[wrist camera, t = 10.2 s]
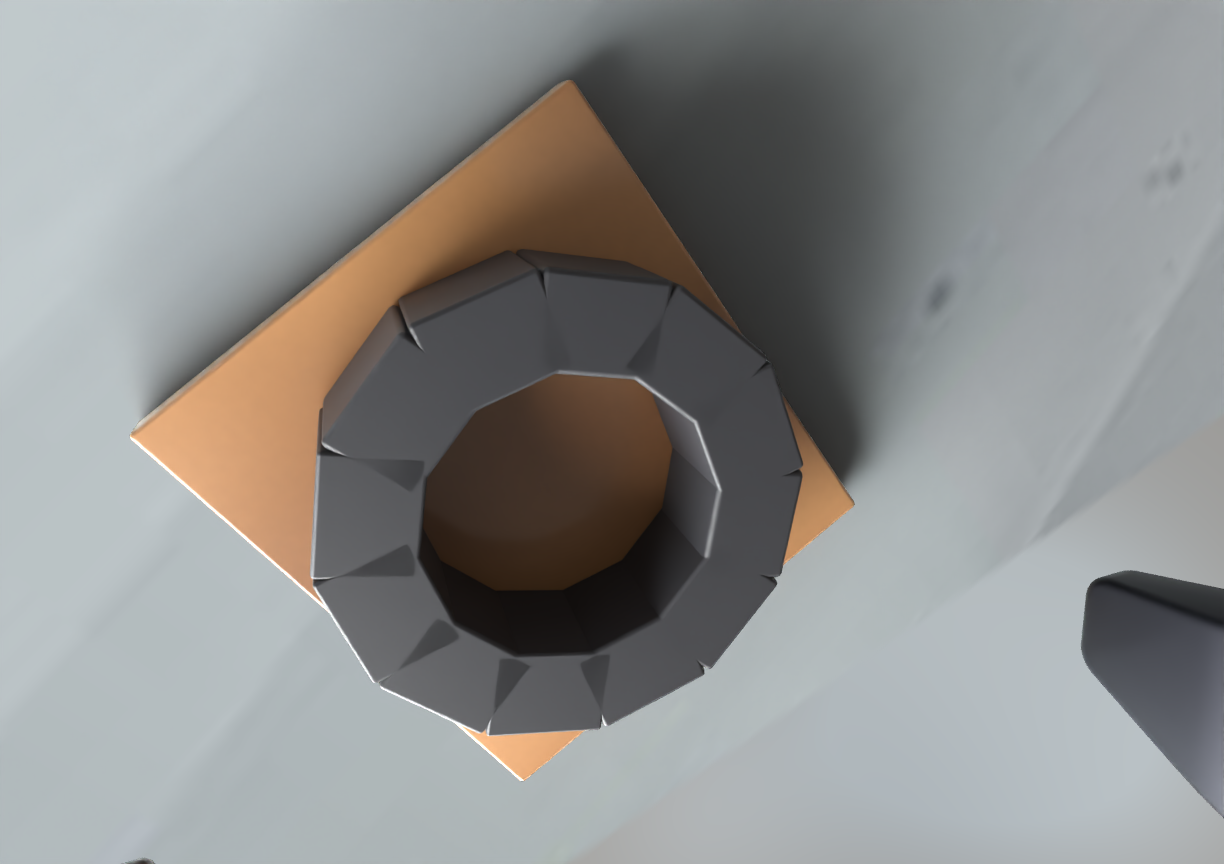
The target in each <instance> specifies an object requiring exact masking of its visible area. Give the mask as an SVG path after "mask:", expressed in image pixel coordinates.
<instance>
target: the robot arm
mask: <svg viewBox="0 0 1224 864" xmlns="http://www.w3.org/2000/svg"><path fill="white" fill-rule="evenodd" d="M1081 650H1082V655H1083V658H1084V660H1085V663H1086V664H1087V666H1088V668H1089V669H1090V671H1091V672H1092V673H1093V674H1094V676H1095V677H1096V678H1097V679H1098V680H1099V681H1100V683H1101V684H1102V685H1103V686H1104V687H1105V688H1106V689H1107V690H1108V692H1109V693H1110V694H1111V695H1112V696H1113V697H1114V698H1115V700H1116V701H1117V702H1118V703H1119V704H1120V705H1121V706H1122V707H1123V709H1124V710H1125V711H1126V712H1127V713H1128V714H1129V716H1130V717H1131V718H1132V719H1133V720H1134V721H1135V722H1136V723H1137V725H1138V726H1139V727H1140V728H1141V729H1142V730H1143V731H1144V733H1145V734H1146V735H1147V736H1148V737H1149V738H1150V739H1151V741H1152V742H1153V743H1154V744H1155V745H1156V746H1157V747H1158V748H1159V750H1160V751H1161V752H1162V753H1163V754H1164V755H1165V756H1166V758H1167V759H1168V760H1169V761H1170V762H1171V763H1172V764H1173V766H1174V767H1175V768H1176V769H1177V770H1178V771H1179V772H1180V773H1181V774H1182V776H1183V777H1184V778H1185V779H1186V780H1187V781H1188V782H1189V783H1190V784H1191V785H1192V786H1193V788H1194V789H1195V790H1196V791H1197V792H1198V793H1199V794H1200V795H1201V796H1202V797H1203V798H1204V799H1205V800H1206V801H1207V802H1208V803H1209V804H1210V805H1211V806H1212V807H1213V808H1214V809H1215V810H1216V811H1217V812H1218V813H1219V814H1220V815H1221V816H1222V817H1223V818H1224V589H1221V588H1216V587H1211V586H1206V585H1202V584H1197V583H1192V582H1187V581H1182V580H1177V579H1173V578H1167V577H1163V576H1158V575H1153V574H1148V573H1143V572H1138V571H1131V570H1130V571H1122V572H1118V573H1114V574H1111V575H1108V576H1104V577H1101V578H1098V579H1096V580H1094V581H1093V582H1092V583H1091V584H1090V586H1089V588H1088V590H1087V593H1086V602H1085V612H1084V621H1083V630H1082V640H1081ZM122 864H155V863H154V862H153V861H152V860H150V859H147V858H140V859H136V860H133V861H129V862H126V863H122Z"/></svg>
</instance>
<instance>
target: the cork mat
mask: <svg viewBox="0 0 1224 864" xmlns="http://www.w3.org/2000/svg"><path fill="white" fill-rule="evenodd" d="M520 249H528V250H536V251H545V252H553V253H561V254H570V255H578V256H586V257H594V258H603V259H611V260H619V261H626V262H629V263H631V264H633V265H635V266H638V267H641V268H643V269H646V270H648V271H650V272H652V273H655V274H657V275H659V276H661V277H664V278H666V279H668V280H671V281H673V282H675V283H677V284H680V285H682V286H684V287H685V288H686V289H687V290H688V291H690V292H691V293H692V294H693V295H695V296H696V297H697V298H698V299H699V300H701V301H702V302H703V303H704V304H705V305H707V306H708V307H709V308H710V309H711V310H713V311H714V312H715V313H716V314H718V315H719V316H720V317H721V318H722V319H724V320H725V321H726V322H727V323H728V324H730V325H731V326H732V327H733V328H735V329H736V330H737V331H738V332H739V333H741V331H740V330H739V328H738V327H737V325H736V324H735V322H734V321H733V319H732V318H731V316H730V315H729V313H728V312H727V310H726V309H725V307H724V306H723V304H722V303H721V301H720V300H719V298H718V297H717V295H716V294H715V292H714V291H713V289H712V288H711V286H710V285H709V283H708V282H707V280H706V279H705V277H704V276H703V274H702V273H701V271H700V270H699V268H698V267H697V265H696V264H695V262H694V261H693V259H692V258H691V256H690V255H689V253H688V252H687V250H686V249H685V247H684V246H683V244H682V243H681V241H680V240H679V238H678V237H677V235H676V234H675V232H674V231H673V229H672V228H671V226H670V225H669V223H668V222H667V220H666V219H665V217H664V216H663V214H662V213H661V211H660V210H659V208H658V207H657V205H656V204H655V202H654V201H653V199H652V198H651V196H650V195H649V193H648V192H647V190H646V189H645V187H644V186H643V184H642V183H641V181H640V180H639V178H638V177H637V175H636V174H635V172H634V171H633V169H632V168H631V166H630V165H629V163H628V162H627V160H626V159H625V157H624V156H623V154H622V153H621V151H620V150H619V148H618V147H617V145H616V144H615V142H614V141H613V139H612V138H611V136H610V135H609V133H608V132H607V130H606V129H605V127H604V126H603V124H602V123H601V121H600V120H599V118H598V117H597V115H596V114H595V112H594V111H593V109H592V108H591V106H590V105H589V103H588V102H587V100H586V99H585V97H584V96H583V94H582V93H581V91H580V90H579V88H578V87H577V85H576V84H575V82H574V81H572V80H567V81H563V82H560V83H558V84H557V85H556V86H555V87H553V88H552V89H551V90H550V91H548V92H547V93H546V94H545V95H544V96H542V97H541V98H540V99H539V100H537V101H536V102H535V103H534V104H532V105H531V106H530V107H529V108H527V109H526V110H525V111H524V112H522V113H521V114H520V115H519V116H517V117H516V118H515V119H514V120H513V121H511V122H510V123H509V124H508V125H506V126H505V127H504V128H503V129H501V130H500V131H499V132H498V133H496V134H495V135H494V136H493V137H491V138H490V139H489V140H488V141H487V142H485V143H484V144H483V145H482V146H480V147H479V148H478V149H477V150H475V151H474V152H473V153H472V154H470V155H469V156H468V157H467V158H465V159H464V160H463V161H462V162H460V163H459V164H458V165H457V166H456V167H454V168H453V169H452V170H451V171H449V172H448V173H447V174H446V175H444V176H443V177H442V178H441V179H439V180H438V181H437V182H436V183H434V184H433V185H432V186H431V187H430V188H428V189H427V190H426V191H425V192H423V193H422V194H421V195H420V196H418V197H417V198H416V199H415V200H413V201H412V202H411V203H410V204H408V205H407V206H406V207H405V208H403V209H402V210H401V211H400V212H399V213H397V214H396V215H395V216H394V217H392V218H391V219H390V220H389V221H387V222H386V223H385V224H384V225H382V226H381V227H380V228H379V229H377V230H376V231H375V232H374V233H372V234H371V235H370V236H369V237H368V238H366V239H365V240H364V241H363V242H361V243H360V244H359V245H358V246H356V247H355V248H354V249H353V250H351V251H350V252H349V253H348V254H346V255H345V256H344V257H343V258H342V259H340V260H339V261H338V262H337V263H335V264H334V265H333V266H332V267H330V268H329V269H328V270H327V271H325V272H324V273H323V274H322V275H320V276H319V277H318V278H317V279H315V280H314V281H313V282H312V283H311V284H309V285H308V286H307V287H306V288H304V289H303V290H302V291H301V292H299V293H298V294H297V295H296V296H294V297H293V298H292V299H291V300H289V301H288V302H287V303H286V304H285V305H283V306H282V307H281V308H280V309H278V310H277V311H276V312H275V313H273V314H272V315H271V316H270V317H268V318H267V319H266V320H265V321H263V322H262V323H261V324H260V325H258V326H257V327H256V328H255V329H254V330H252V331H251V332H250V333H249V334H247V335H246V336H245V337H244V338H242V339H241V340H240V341H239V342H237V343H236V344H235V345H234V346H232V347H231V348H230V349H229V350H228V351H226V352H225V353H224V354H223V355H221V356H220V357H219V358H218V359H216V360H215V361H214V362H213V363H211V364H210V365H209V366H208V367H206V368H205V369H204V370H203V371H201V372H200V373H199V374H198V375H197V376H195V377H194V378H193V379H192V380H190V381H189V382H188V383H187V384H185V385H184V386H183V387H182V388H180V389H179V390H178V391H177V392H175V393H174V394H173V395H172V396H171V397H169V398H168V399H167V400H166V401H164V402H163V403H162V404H161V405H159V406H158V407H157V408H156V409H154V410H153V411H152V412H151V413H149V414H148V415H147V416H146V417H144V418H143V419H142V420H141V421H140V422H138V424H137V425H136V426H135V428H134V429H133V431H132V432H131V434H130V438H131V439H132V440H133V441H134V442H135V443H136V444H137V445H138V446H139V447H141V448H142V449H143V450H144V451H145V452H146V453H147V454H149V455H150V456H151V457H152V458H153V459H154V460H155V461H157V462H158V463H159V464H160V465H161V466H162V467H163V468H165V469H166V470H167V471H168V472H169V473H170V474H171V475H173V476H174V477H175V478H176V479H177V480H178V481H179V482H181V483H182V484H183V485H184V486H185V487H186V488H187V489H189V490H190V491H191V492H192V493H193V494H194V495H195V496H197V497H198V498H199V499H200V500H201V501H202V502H203V503H205V504H206V505H207V506H208V507H209V508H210V509H211V510H212V511H214V512H215V513H216V514H217V515H218V516H219V517H220V518H222V519H223V520H224V521H225V522H226V523H227V524H228V525H230V526H231V527H232V528H233V529H234V530H235V531H236V532H238V533H239V534H240V535H241V536H242V537H243V538H244V539H246V540H247V541H248V542H249V543H250V544H251V545H252V546H254V547H255V548H256V549H257V550H258V551H259V552H260V553H262V554H263V555H264V556H265V557H266V558H267V559H268V560H270V561H271V562H272V563H273V564H274V565H275V566H276V567H278V568H279V569H280V570H281V571H282V572H283V573H284V574H285V575H287V576H288V577H289V578H290V579H291V580H292V581H293V582H295V583H296V584H297V585H298V586H299V587H300V588H301V589H303V590H304V591H305V592H306V593H307V594H308V595H309V596H311V597H312V598H313V599H314V600H315V601H316V602H317V603H319V604H320V605H321V606H322V607H323V608H324V609H325V610H327V609H326V608H325V606H324V604H323V603H322V601H321V600H320V598H319V596H318V595H317V593H316V592H315V590H314V588H313V579H312V578H311V576H310V562H311V543H312V524H313V505H314V486H315V467H316V449H317V433H318V417H319V410H320V409H321V408H323V402H324V398H325V396H326V395H327V394H328V392H329V391H330V389H331V388H332V387H333V385H334V384H335V382H336V381H337V380H338V378H339V377H340V375H341V374H342V373H343V371H344V370H345V368H346V367H347V366H348V364H349V363H350V361H351V360H352V359H353V357H354V356H355V354H356V353H357V352H358V350H359V349H360V347H361V346H362V345H363V343H364V342H365V340H366V339H367V338H368V336H369V335H370V333H371V332H372V331H373V329H374V328H375V326H376V325H377V324H378V322H379V321H380V319H381V318H382V317H383V315H384V314H385V312H386V311H387V310H388V308H389V307H391V306H392V305H395V306H398V307H400V306H399V301H398V300H399V299H400V298H401V297H402V296H404V295H407V294H409V293H411V292H413V291H416V290H418V289H420V288H423V287H425V286H427V285H429V284H432V283H434V282H436V281H438V280H441V279H443V278H445V277H447V276H450V275H452V274H454V273H456V272H459V271H461V270H463V269H465V268H468V267H470V266H472V265H475V264H477V263H479V262H481V261H484V260H486V259H488V258H490V257H493V256H495V255H497V254H499V253H502V252H504V251H506V250H510V251H512V252H513V253H515V254H516V252H517V250H520ZM741 334H742V333H741ZM742 335H743V334H742ZM782 396H783V394H782ZM783 399H784V402H785V405H786V409H787V412H788V415H789V418H790V422H791V425H792V428H793V431H794V435H795V438H796V441H797V444H798V447H799V451H800V454H801V457H802V460H803V466H802V468H800V469H799V470H800V471H801V472H802V476H803V478H802V482H801V487H800V492H799V496H798V501H797V505H796V510H795V514H794V519H793V523H792V528H791V532H790V537H789V541H788V546H787V550H786V555H785V559H784V564H785V563H786V562H787V561H788V560H790V559H791V558H792V557H793V556H794V555H796V554H797V553H798V552H799V551H800V550H802V549H803V548H804V547H805V546H806V545H808V544H809V543H810V542H811V541H812V540H814V539H815V538H816V537H817V536H818V535H820V534H821V533H822V532H823V531H824V530H826V529H827V528H828V527H829V526H830V525H832V524H833V523H834V522H835V521H836V520H838V519H839V518H840V517H841V516H842V515H844V514H845V513H846V512H847V511H848V510H850V509H851V508H852V507H853V506H854V505H855V504H854V501H853V499H852V498H851V496H850V495H849V493H848V492H847V490H846V489H845V487H844V486H843V484H842V483H841V481H840V480H839V478H838V477H837V475H836V474H835V472H834V471H833V469H832V468H831V466H830V465H829V463H828V462H827V460H826V459H825V457H824V456H823V454H822V453H821V451H820V450H819V448H818V447H817V445H816V444H815V442H814V441H813V439H812V438H811V436H810V435H809V433H808V432H807V430H806V429H805V427H804V426H803V424H802V423H801V421H800V420H799V418H798V417H797V415H796V414H795V412H794V411H793V409H792V408H791V406H790V405H789V403H788V402H787V400H786V399H785V397H784V396H783ZM671 454H672V445H671V442H670V440H669V437H668V434H667V432H666V429H665V427H664V424H663V421H662V419H661V416H660V413H659V411H658V408H657V405H656V403H655V400H654V398H653V395H652V393H651V392H650V391H649V390H647V389H646V388H645V387H643V386H642V385H641V384H639V383H638V382H637V381H635V380H633V379H620V378H606V377H593V376H580V375H566V374H554V375H552V376H550V377H548V378H545V379H543V380H541V381H539V382H537V383H535V384H533V385H530V386H528V387H526V388H524V389H522V390H520V391H518V392H515V393H513V394H511V395H509V396H507V397H505V398H503V399H500V400H498V401H496V402H494V403H492V404H490V405H488V406H485V407H483V408H481V409H479V410H477V411H476V412H475V413H474V415H473V416H472V417H471V419H470V420H469V421H468V423H467V424H466V426H465V427H464V428H463V430H462V431H461V432H460V434H459V435H458V436H457V438H456V439H455V441H454V442H453V443H452V445H451V446H450V447H449V449H448V450H447V451H446V453H445V454H444V456H443V457H442V458H441V460H440V461H439V462H438V464H437V465H436V466H435V468H434V469H433V470H432V472H431V473H430V475H429V476H428V477H427V487H426V498H425V508H424V519H423V529H424V530H425V532H426V534H427V536H428V538H429V540H430V542H431V543H432V545H433V547H434V549H435V551H436V553H437V554H438V556H439V558H440V560H441V561H443V562H444V563H446V564H448V565H450V566H452V567H453V568H455V569H457V570H459V571H461V572H463V573H464V574H466V575H468V576H470V577H472V578H473V579H475V580H477V581H479V582H481V583H483V584H484V585H486V586H488V587H490V588H492V589H493V590H495V591H504V590H564V589H566V588H568V587H570V586H572V585H574V584H576V583H578V582H580V581H582V580H584V579H586V578H588V577H590V576H592V575H594V574H596V573H597V572H599V571H601V570H603V569H605V568H607V567H609V566H611V565H613V564H615V563H617V562H619V561H621V560H622V559H623V558H624V557H625V555H626V554H627V553H628V551H629V550H630V549H631V547H632V546H633V545H634V544H635V542H636V541H637V540H638V538H639V537H640V536H641V534H642V533H643V532H644V531H645V529H646V528H647V527H648V525H649V524H650V523H651V521H652V520H653V519H654V517H655V516H656V515H657V514H658V512H659V511H660V510H661V508H662V505H663V500H664V494H665V488H666V482H667V477H668V471H669V465H670V460H671ZM784 564H783V565H784ZM454 723H455V722H454ZM455 724H457V723H455ZM457 725H458V726H459V727H460V728H461V729H462V730H463V731H465V732H466V733H467V734H468V735H469V736H470V737H471V738H473V739H474V740H475V741H476V742H477V743H478V744H479V745H481V746H482V747H483V748H484V749H485V750H486V751H487V752H489V753H490V754H491V755H492V756H493V757H494V758H495V759H497V760H498V761H499V762H500V763H501V764H502V765H503V766H504V767H506V768H507V769H508V770H509V771H510V772H511V773H512V774H514V775H515V776H516V777H517V778H518V779H519V780H521V781H525V780H526V779H527V778H528V777H529V776H531V775H532V774H533V773H534V772H535V771H537V770H538V769H539V768H540V767H541V766H543V765H544V764H545V763H546V762H547V761H549V760H550V759H551V758H552V757H553V756H555V755H556V754H557V753H558V752H559V751H561V750H562V749H563V748H564V747H565V746H567V745H568V744H569V743H570V742H571V741H573V740H574V739H575V738H576V737H577V736H579V735H580V734H581V733H582V732H583V731H585V730H583V731H567V732H551V733H535V734H519V735H503V736H487V734H486V731H485V730H484V731H483V732H482V733H481V734H480V733H476V732H474V731H472V730H470V729H468V728H465V727H463V726H461V725H459V724H457Z"/></svg>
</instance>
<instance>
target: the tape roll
mask: <svg viewBox="0 0 1224 864" xmlns="http://www.w3.org/2000/svg"><path fill="white" fill-rule="evenodd" d="M398 301H399V306H400V307H398V306H395V305H392V306H391V307H389V308H388V310H387V311H386V312H385V314H384V315H383V317H382V318H381V319H380V321H379V322H378V324H377V325H376V326H375V328H374V329H373V331H372V332H371V333H370V335H369V336H368V338H367V339H366V340H365V342H364V343H363V345H362V346H361V347H360V349H359V350H358V352H357V353H356V354H355V356H354V357H353V359H352V360H351V361H350V363H349V364H348V366H347V367H346V368H345V370H344V371H343V373H342V374H341V375H340V377H339V378H338V380H337V381H336V382H335V384H334V385H333V387H332V388H331V389H330V391H329V392H328V394H327V395H326V396H325V398H324V402H323V408H321V409H320V410H319V417H318V433H317V449H316V467H315V486H314V505H313V524H312V543H311V562H310V576H311V578H312V579H313V588H314V590H315V592H316V593H317V595H318V596H319V598H320V600H321V601H322V603H323V604H324V606H325V608H326V609H327V611H328V612H329V614H330V616H331V617H332V619H333V620H334V622H335V624H336V625H337V627H338V628H339V630H340V631H341V633H342V635H343V636H344V638H345V639H346V641H347V643H348V644H349V646H350V647H351V649H352V651H353V652H354V654H355V655H356V657H357V659H358V660H359V662H360V663H361V665H362V667H363V668H364V670H365V671H366V673H367V675H368V676H369V678H370V679H371V681H372V682H373V683H378V682H379V686H380V687H381V688H382V689H383V690H385V691H387V692H389V693H392V694H394V695H396V696H398V697H400V698H402V699H405V700H407V701H409V702H411V703H413V704H415V705H418V706H420V707H422V708H424V709H426V710H428V711H431V712H433V713H435V714H437V715H439V716H442V717H444V718H446V719H448V720H450V721H452V722H455V723H457V724H459V725H461V726H463V727H465V728H468V729H470V730H472V731H474V732H476V733H480V734H481V733H482V732H483V731H484V730H485V731H486V734H487V736H503V735H519V734H535V733H551V732H567V731H583V730H598V729H600V727H601V721H602V723H603V724H604V725H605V726H609V725H611V724H613V723H615V722H617V721H619V720H620V719H622V718H624V717H626V716H628V715H630V714H632V713H634V712H635V711H637V710H639V709H641V708H643V707H645V706H647V705H649V704H650V703H652V702H654V701H656V700H658V699H660V698H662V697H664V696H665V695H667V694H669V693H671V692H673V691H675V690H677V689H679V688H680V687H682V686H684V685H686V684H688V683H690V682H692V681H694V680H695V679H697V678H699V677H701V676H703V675H704V668H703V667H705V668H708V669H710V668H712V667H713V666H714V664H715V663H716V662H717V661H718V659H719V658H720V657H721V655H722V654H723V653H724V652H725V650H726V649H727V648H728V647H729V645H730V644H731V643H732V641H733V640H734V639H735V638H736V636H737V635H738V634H739V633H740V631H741V630H742V629H743V627H744V626H745V625H746V624H747V622H748V621H749V620H750V619H751V617H752V616H753V615H754V614H755V612H756V611H757V610H758V608H759V607H760V606H761V605H762V603H763V602H764V601H765V600H766V598H767V597H768V596H769V594H770V593H771V592H772V591H773V589H774V588H775V587H776V585H777V581H776V580H775V578H774V577H778V576H780V574H781V573H782V568H783V564H784V559H785V555H786V550H787V546H788V541H789V537H790V532H791V528H792V523H793V519H794V514H795V510H796V505H797V501H798V496H799V492H800V487H801V482H802V478H803V476H802V472H801V471H800V470H799V469H800V468H802V466H803V460H802V457H801V454H800V451H799V447H798V444H797V441H796V438H795V435H794V431H793V428H792V425H791V422H790V418H789V415H788V412H787V409H786V405H785V402H784V399H783V396H782V393H781V389H780V386H779V383H778V380H777V376H776V373H775V370H774V367H773V365H772V364H771V363H770V362H768V361H766V360H767V357H766V355H765V353H764V352H762V351H761V350H760V349H759V348H758V347H756V346H755V345H754V344H753V343H751V342H750V341H749V340H748V339H747V338H745V337H744V336H743V335H742V334H741V333H739V332H738V331H737V330H736V329H735V328H733V327H732V326H731V325H730V324H728V323H727V322H726V321H725V320H724V319H722V318H721V317H720V316H719V315H718V314H716V313H715V312H714V311H713V310H711V309H710V308H709V307H708V306H707V305H705V304H704V303H703V302H702V301H701V300H699V299H698V298H697V297H696V296H695V295H693V294H692V293H691V292H690V291H688V290H687V289H686V288H685V287H684V286H682V285H680V284H677V283H675V282H673V281H671V280H668V279H666V278H664V277H661V276H659V275H657V274H655V273H652V272H650V271H648V270H646V269H643V268H641V267H638V266H635V265H633V264H631V263H629V262H626V261H619V260H611V259H603V258H594V257H586V256H578V255H570V254H561V253H553V252H545V251H536V250H528V249H520V250H517V252H516V254H515V253H513V252H512V251H510V250H506V251H504V252H502V253H499V254H497V255H495V256H493V257H490V258H488V259H486V260H484V261H481V262H479V263H477V264H475V265H472V266H470V267H468V268H465V269H463V270H461V271H459V272H456V273H454V274H452V275H450V276H447V277H445V278H443V279H441V280H438V281H436V282H434V283H432V284H429V285H427V286H425V287H423V288H420V289H418V290H416V291H413V292H411V293H409V294H407V295H404V296H402V297H401V298H400V299H399V300H398ZM554 374H566V375H580V376H593V377H606V378H620V379H633V380H635V381H637V382H638V383H639V384H641V385H642V386H643V387H645V388H646V389H647V390H649V391H650V392H651V393H652V395H653V398H654V400H655V403H656V405H657V408H658V411H659V413H660V416H661V419H662V421H663V424H664V427H665V429H666V432H667V434H668V437H669V440H670V442H671V445H672V454H671V460H670V465H669V471H668V477H667V482H666V488H665V494H664V500H663V505H662V508H661V510H660V511H659V512H658V514H657V515H656V516H655V517H654V519H653V520H652V521H651V523H650V524H649V525H648V527H647V528H646V529H645V531H644V532H643V533H642V534H641V536H640V537H639V538H638V540H637V541H636V542H635V544H634V545H633V546H632V547H631V549H630V550H629V551H628V553H627V554H626V555H625V557H624V558H623V559H622V560H621V561H619V562H617V563H615V564H613V565H611V566H609V567H607V568H605V569H603V570H601V571H599V572H597V573H596V574H594V575H592V576H590V577H588V578H586V579H584V580H582V581H580V582H578V583H576V584H574V585H572V586H570V587H568V588H566V589H564V590H504V591H495V590H493V589H492V588H490V587H488V586H486V585H484V584H483V583H481V582H479V581H477V580H475V579H473V578H472V577H470V576H468V575H466V574H464V573H463V572H461V571H459V570H457V569H455V568H453V567H452V566H450V565H448V564H446V563H444V562H443V561H441V560H440V558H439V556H438V554H437V553H436V551H435V549H434V547H433V545H432V543H431V542H430V540H429V538H428V536H427V534H426V532H425V530H424V529H423V519H424V508H425V498H426V487H427V477H428V476H429V475H430V473H431V472H432V470H433V469H434V468H435V466H436V465H437V464H438V462H439V461H440V460H441V458H442V457H443V456H444V454H445V453H446V451H447V450H448V449H449V447H450V446H451V445H452V443H453V442H454V441H455V439H456V438H457V436H458V435H459V434H460V432H461V431H462V430H463V428H464V427H465V426H466V424H467V423H468V421H469V420H470V419H471V417H472V416H473V415H474V413H475V412H476V411H477V410H479V409H481V408H483V407H485V406H488V405H490V404H492V403H494V402H496V401H498V400H500V399H503V398H505V397H507V396H509V395H511V394H513V393H515V392H518V391H520V390H522V389H524V388H526V387H528V386H530V385H533V384H535V383H537V382H539V381H541V380H543V379H545V378H548V377H550V376H552V375H554Z"/></svg>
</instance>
